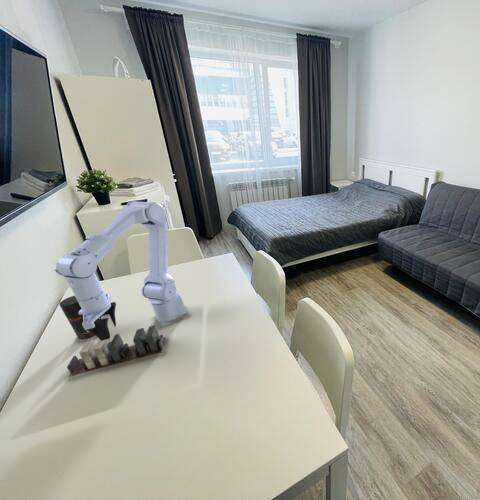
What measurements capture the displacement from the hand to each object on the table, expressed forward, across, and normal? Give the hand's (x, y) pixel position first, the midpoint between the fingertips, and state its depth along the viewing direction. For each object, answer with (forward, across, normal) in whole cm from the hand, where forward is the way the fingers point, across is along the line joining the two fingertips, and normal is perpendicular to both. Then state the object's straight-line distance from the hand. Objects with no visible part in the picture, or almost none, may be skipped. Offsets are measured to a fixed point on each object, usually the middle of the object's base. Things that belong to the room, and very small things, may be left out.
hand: (108, 332), depth 80 cm
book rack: (+10, 0, 0) cm, 10 cm away
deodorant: (+11, -16, -13) cm, 24 cm away
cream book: (+2, 0, 0) cm, 2 cm away
